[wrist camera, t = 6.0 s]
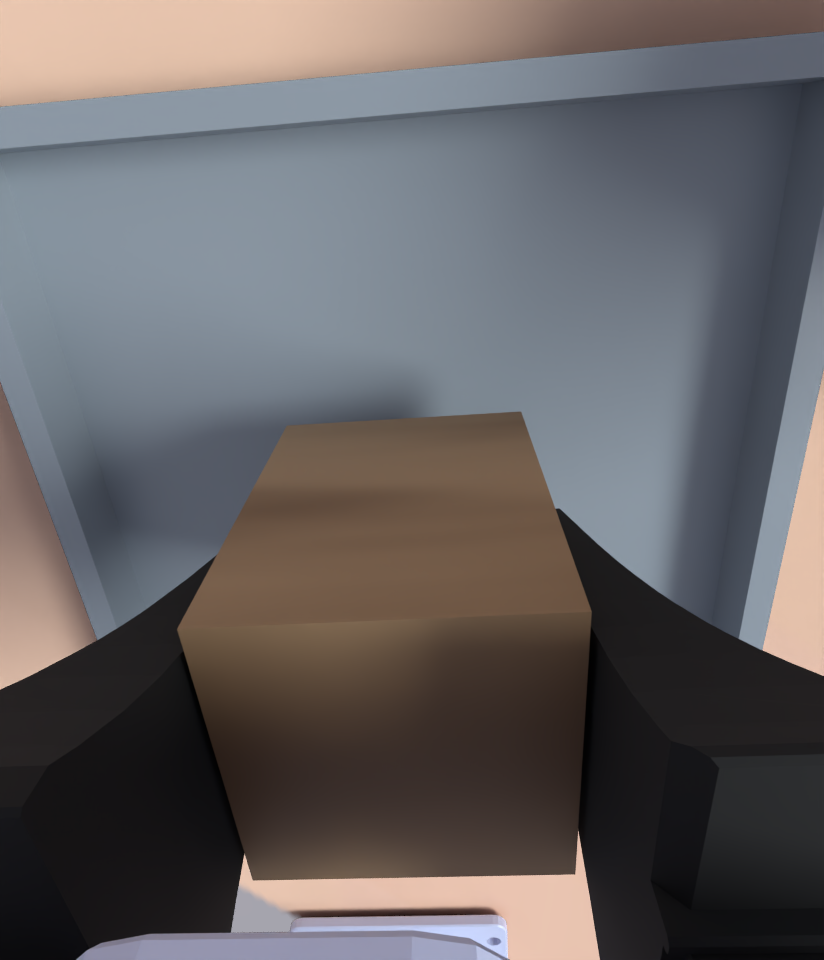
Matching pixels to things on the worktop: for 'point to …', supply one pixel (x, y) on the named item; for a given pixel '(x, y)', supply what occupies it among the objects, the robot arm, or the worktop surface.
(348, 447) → the block
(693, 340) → the tray
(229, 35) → the worktop surface
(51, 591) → the worktop surface
